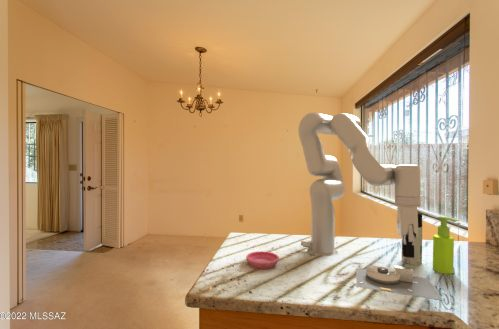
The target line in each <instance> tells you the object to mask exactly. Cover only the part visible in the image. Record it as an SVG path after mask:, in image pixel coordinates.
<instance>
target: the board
mask: <svg viewBox="0 0 499 329" xmlns="http://www.w3.org/2000/svg"><path fill="white" fill-rule="evenodd" d="M355 271H356V272H355V274H356V277H355V278H356V287H357V288H363V289H369V290H374V291H375V290H376V291H380V292H382V291H383V292H386V293H387V292H388V293H392V294H394V293H395V294H399V295H407V296H414V297H417V298H418V297H419V298H425V299H432V300H438V301H443V298H442V297H441V296H440V294H439V292H438V290H436V288H435V287H434V285H433V283H432V282H431V280H430V279H429V278H427V277H419V276H415V275H413V283H411V282H404V281H400V283H398V284H394V285H388V284H381V283H377V282H374V281H372V280H370V279H369V278H367V276H366V269H362V268H355Z"/></svg>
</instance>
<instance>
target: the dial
mask: <svg viewBox="0 0 499 329" xmlns="http://www.w3.org/2000/svg"><path fill="white" fill-rule="evenodd" d="M365 270H366V276H367V278H369V279H370V280H372V281H374V282H377V283H381V284H388V285H394V284H398V283H400V281H404V282H411V283H413V276H414V269H413V267H406V266H399V265H394V269H393V268H391V267H388V266H383V265H369V266H367V267H365Z"/></svg>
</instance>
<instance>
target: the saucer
mask: <svg viewBox="0 0 499 329" xmlns="http://www.w3.org/2000/svg"><path fill="white" fill-rule="evenodd" d="M245 260H246V261H247V263H248V264H249V265H250V267H252V268H255V269H258V270H268V269H272V268H274V267H275V266H276V265H277V264H278V263H279V261H280V256H279V255H278V254H276V253H274V252H270V251H262V250H261V251H253V252H250V253H248V254H247V255H246V259H245Z"/></svg>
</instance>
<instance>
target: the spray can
mask: <svg viewBox="0 0 499 329" xmlns="http://www.w3.org/2000/svg"><path fill="white" fill-rule="evenodd" d="M417 213H418V237H416V238H415V237H414V257H413V258H412V257H404V256H403V254H402V253H401V262H403V263H406V264H409V265H412V266H413V265H414V266H415V265H416V266H418V265H420V266H421V265H422V264H423V263H422V262H423V213H422V212H419V211H417ZM402 243H403V239H402V238H401V244H402Z"/></svg>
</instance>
